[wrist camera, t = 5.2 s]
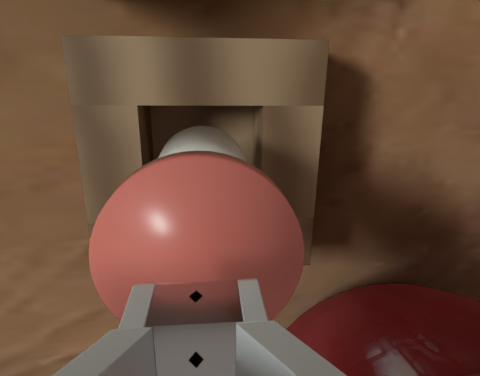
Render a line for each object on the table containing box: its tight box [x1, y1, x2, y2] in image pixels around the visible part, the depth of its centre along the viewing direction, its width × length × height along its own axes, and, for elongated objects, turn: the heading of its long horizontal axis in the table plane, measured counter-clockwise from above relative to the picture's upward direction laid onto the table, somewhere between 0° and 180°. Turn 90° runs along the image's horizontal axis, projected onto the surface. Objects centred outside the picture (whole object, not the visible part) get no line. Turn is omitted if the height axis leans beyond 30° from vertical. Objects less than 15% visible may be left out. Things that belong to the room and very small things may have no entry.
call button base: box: [61, 35, 329, 265], centre depth 23 cm, size 14×14×5 cm
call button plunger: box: [89, 126, 304, 321], centre depth 15 cm, size 6×6×10 cm
